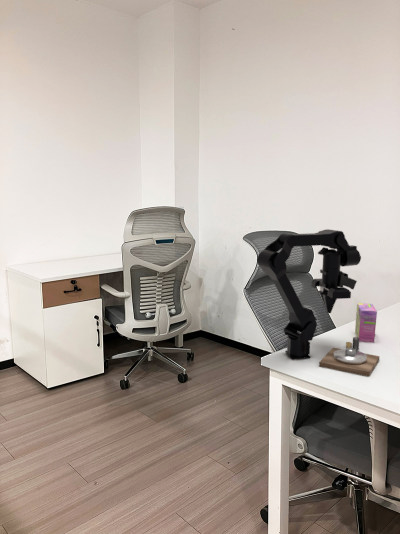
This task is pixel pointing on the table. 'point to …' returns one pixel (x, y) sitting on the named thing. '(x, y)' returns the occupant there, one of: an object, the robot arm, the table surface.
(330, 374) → the table surface
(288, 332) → the robot arm
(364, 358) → the flange
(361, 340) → the box
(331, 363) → the base plate
